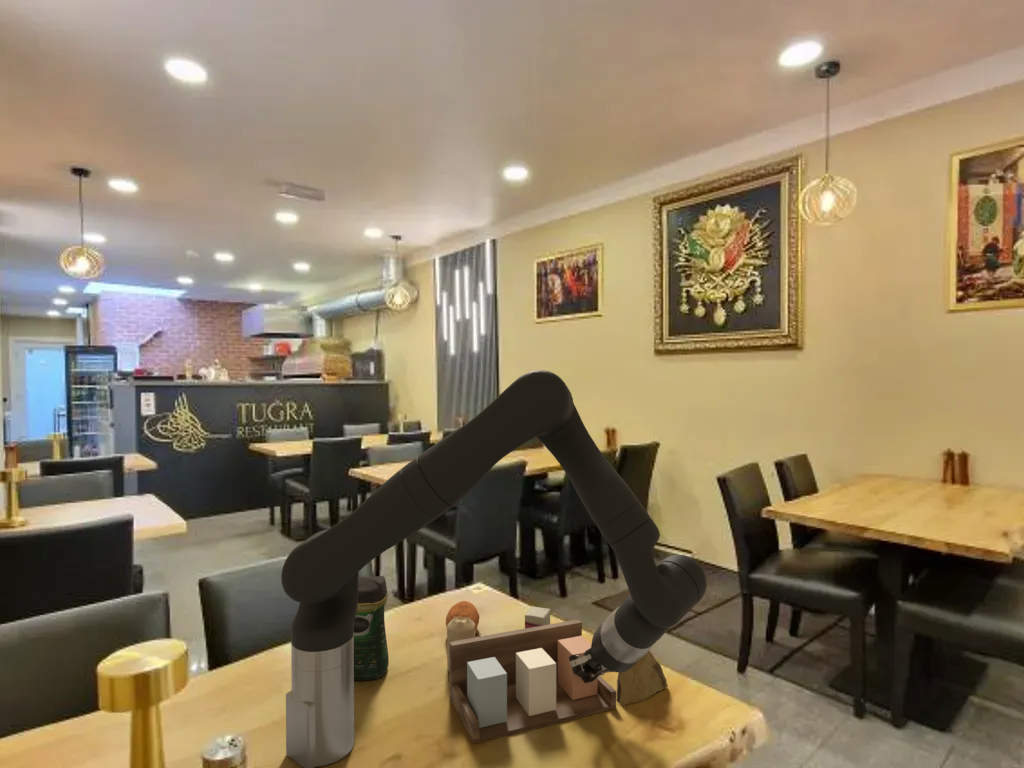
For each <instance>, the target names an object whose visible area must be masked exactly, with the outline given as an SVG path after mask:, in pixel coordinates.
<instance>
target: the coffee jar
mask: <svg viewBox="0 0 1024 768" xmlns="http://www.w3.org/2000/svg"><path fill="white" fill-rule="evenodd" d="M388 593H389V592H388V587H387V580H386V578H385V576H384V575H381V576H380V575H379V576H358V606H357V613H356V617H355V621H354V681H369V680H377V679H379V678H380V677H382V676H383V675H384V674H385V673H386V671H388V667H389V649H388V642H387V633H386V624H385V623H386V622H385V606H386V604H387V601H388Z"/></svg>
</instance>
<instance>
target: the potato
mask: <svg viewBox="0 0 1024 768" xmlns="http://www.w3.org/2000/svg"><path fill="white" fill-rule="evenodd" d="M459 616H460V617H465V618H466V617H468V618H470V619H471V620H472V621H473V622H474V623H475V634H477V630H478V627H479V626H478V625H479V622H480V614H479V611H478V609H477V606H475V605H474V604H473V603H471V602H470V601H466V600H463V601H462V600H461V601H458V602H457V603H455V604H453V605H452V606H451V607H450V608H449V610H448V612H447V615H446V616H445V617H446V618H445V626H446V627H447V625H448V624H449V622H450V621H451V620H452V619H453V618H454V617H459Z"/></svg>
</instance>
